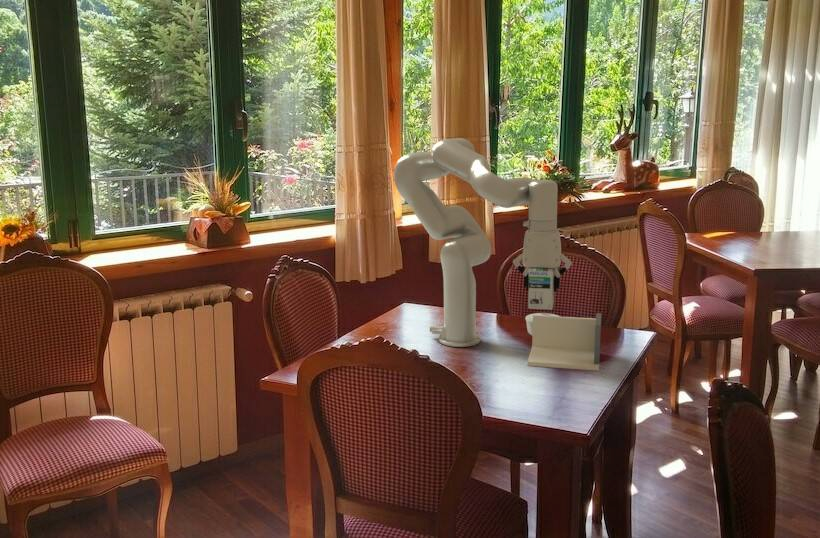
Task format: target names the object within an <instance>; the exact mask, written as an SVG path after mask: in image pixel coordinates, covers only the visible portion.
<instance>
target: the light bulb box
mask: <svg viewBox="0 0 820 538" xmlns="http://www.w3.org/2000/svg"><path fill="white" fill-rule="evenodd" d="M554 276H555V273H554V271H553V269H542V268H529V290H528V302H527V303H528V307H527V308H528V309H529V310H530V309H531V310H533V309H534V310H551V311H552V310H553V309H554V303H555V292H554Z"/></svg>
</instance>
